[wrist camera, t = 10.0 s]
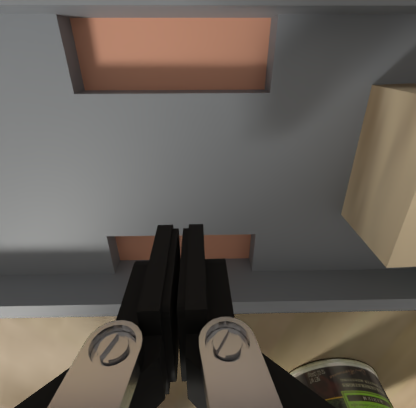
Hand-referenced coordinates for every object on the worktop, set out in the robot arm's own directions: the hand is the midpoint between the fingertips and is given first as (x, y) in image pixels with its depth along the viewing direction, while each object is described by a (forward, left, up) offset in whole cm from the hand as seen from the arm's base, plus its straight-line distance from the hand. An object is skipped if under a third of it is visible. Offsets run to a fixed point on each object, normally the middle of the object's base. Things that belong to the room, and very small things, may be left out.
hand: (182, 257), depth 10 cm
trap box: (+2, 0, -7) cm, 7 cm away
